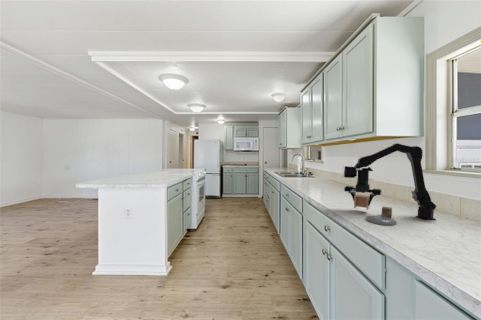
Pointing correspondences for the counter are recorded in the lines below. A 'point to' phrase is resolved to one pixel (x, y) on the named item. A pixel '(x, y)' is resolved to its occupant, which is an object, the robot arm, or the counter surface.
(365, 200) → the terracotta hood
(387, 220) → the slate dish
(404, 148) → the robot arm
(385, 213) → the walnut block
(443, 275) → the counter surface
